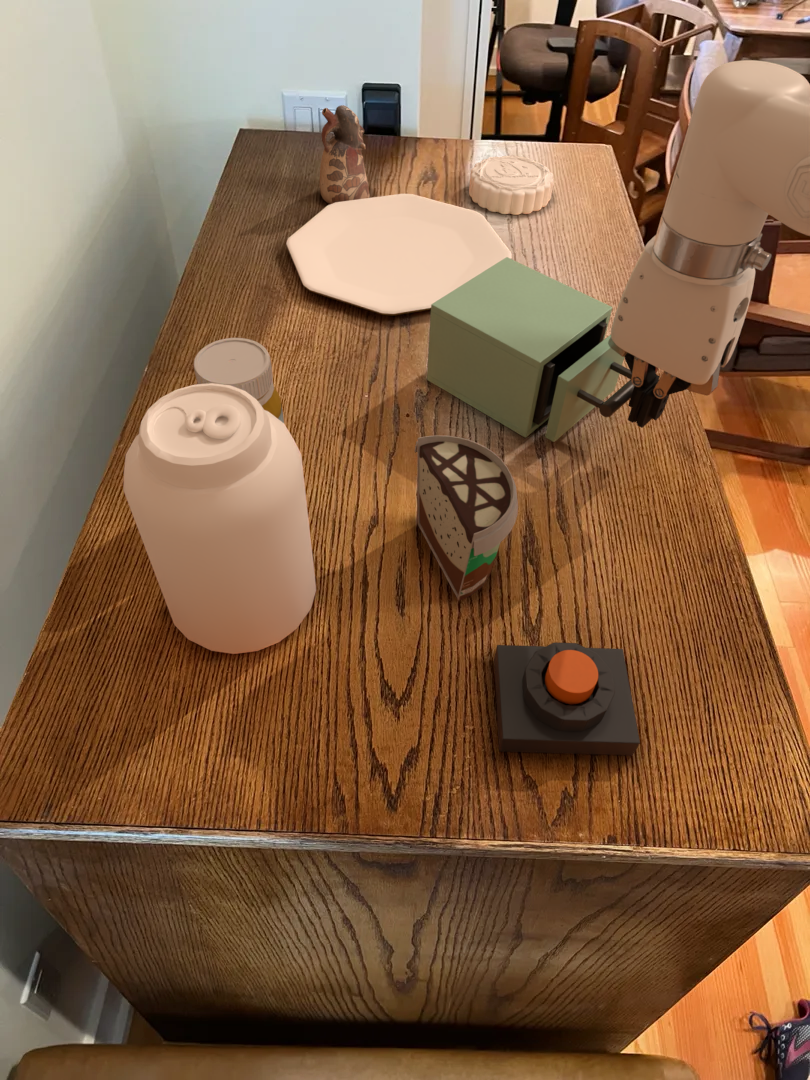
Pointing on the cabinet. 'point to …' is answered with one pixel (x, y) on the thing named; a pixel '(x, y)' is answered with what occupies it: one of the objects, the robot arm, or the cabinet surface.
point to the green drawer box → (505, 338)
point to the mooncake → (510, 185)
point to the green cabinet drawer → (581, 383)
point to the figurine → (342, 158)
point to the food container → (463, 507)
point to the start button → (571, 677)
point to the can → (223, 517)
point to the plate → (393, 252)
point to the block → (562, 704)
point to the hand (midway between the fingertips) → (642, 417)
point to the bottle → (240, 370)
